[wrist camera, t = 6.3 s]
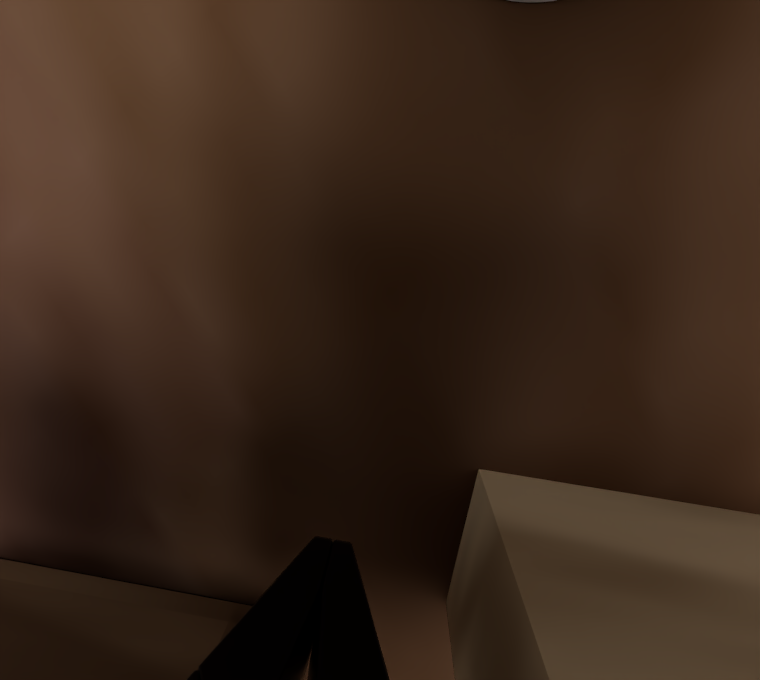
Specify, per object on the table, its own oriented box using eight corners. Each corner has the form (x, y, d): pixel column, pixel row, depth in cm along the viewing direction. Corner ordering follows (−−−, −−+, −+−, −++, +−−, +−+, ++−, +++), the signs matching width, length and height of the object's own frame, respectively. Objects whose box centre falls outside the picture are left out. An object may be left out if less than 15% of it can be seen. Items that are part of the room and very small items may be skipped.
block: (713, 643, 10) (982, 989, 5) (445, 598, 10) (480, 896, 5) (778, 514, 9) (1185, 808, 4) (477, 465, 9) (554, 697, 4)
